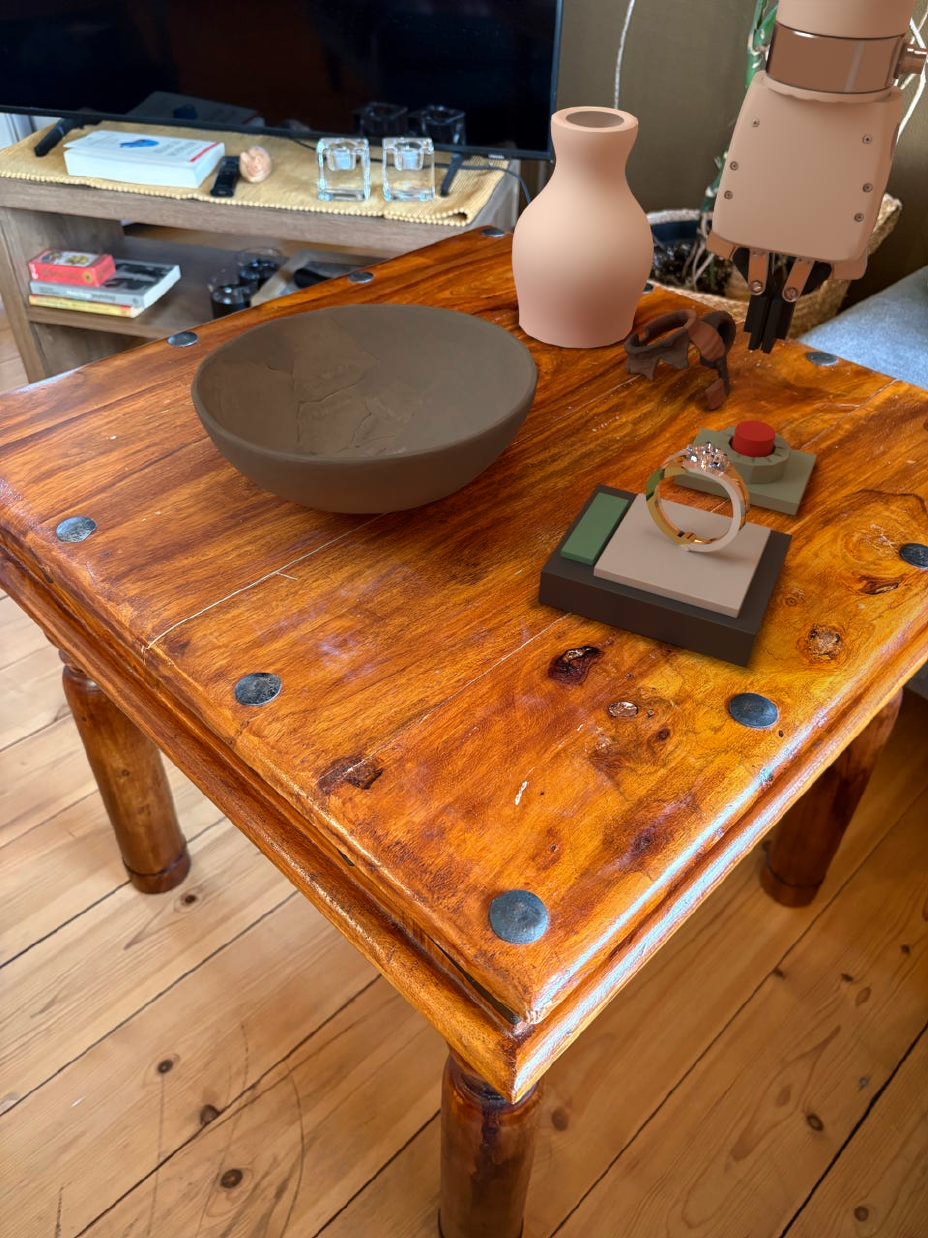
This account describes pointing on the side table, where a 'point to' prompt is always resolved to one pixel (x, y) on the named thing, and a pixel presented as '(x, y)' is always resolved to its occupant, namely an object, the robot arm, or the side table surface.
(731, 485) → the ring
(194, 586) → the side table surface
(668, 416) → the side table surface
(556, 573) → the scale
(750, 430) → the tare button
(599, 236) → the vase
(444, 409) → the bowl
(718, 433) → the grey button housing
